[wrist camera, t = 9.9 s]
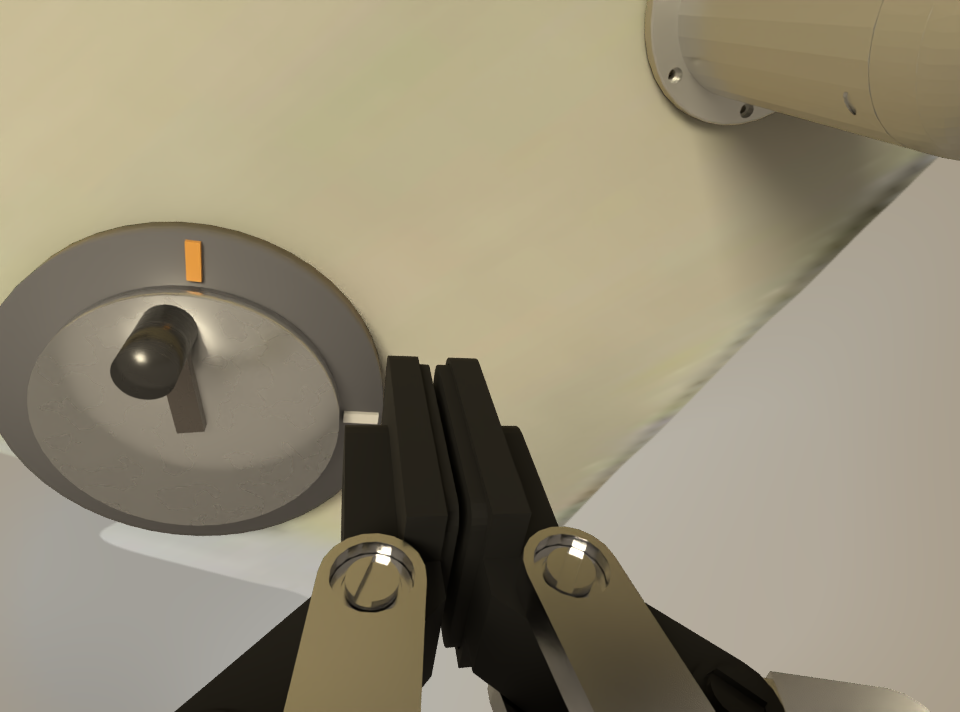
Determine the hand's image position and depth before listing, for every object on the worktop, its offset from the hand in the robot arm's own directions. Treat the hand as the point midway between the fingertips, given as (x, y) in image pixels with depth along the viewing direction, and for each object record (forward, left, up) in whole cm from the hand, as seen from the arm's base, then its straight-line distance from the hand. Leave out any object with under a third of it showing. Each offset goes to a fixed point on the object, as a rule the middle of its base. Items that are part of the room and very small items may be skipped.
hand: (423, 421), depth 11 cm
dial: (+6, +20, -25) cm, 32 cm away
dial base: (+6, +20, -27) cm, 34 cm away
